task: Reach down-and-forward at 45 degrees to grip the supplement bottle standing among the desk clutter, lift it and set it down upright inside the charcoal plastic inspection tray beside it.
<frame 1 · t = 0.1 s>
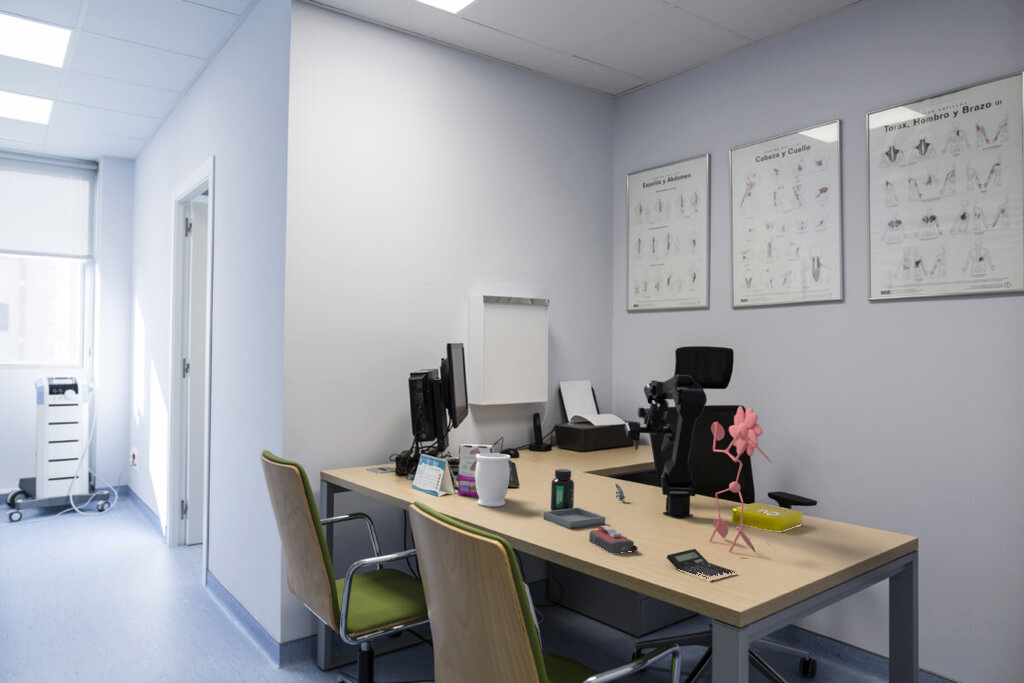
hand: (648, 449, 226), 15 cm above the table, tool tilted 35°, fingers open, 9 cm apart
supplement bottle: (561, 511, 196), on the table
walkie-talkie: (607, 544, 164), on the table
jar: (491, 504, 201), on the table
candy bar box: (475, 495, 213), on the table
element tile: (766, 525, 189), on the table
calculator: (700, 572, 144), on the table
sculpture: (619, 503, 211), on the table
tray: (573, 521, 183), on the table
figurine: (743, 546, 165), on the table
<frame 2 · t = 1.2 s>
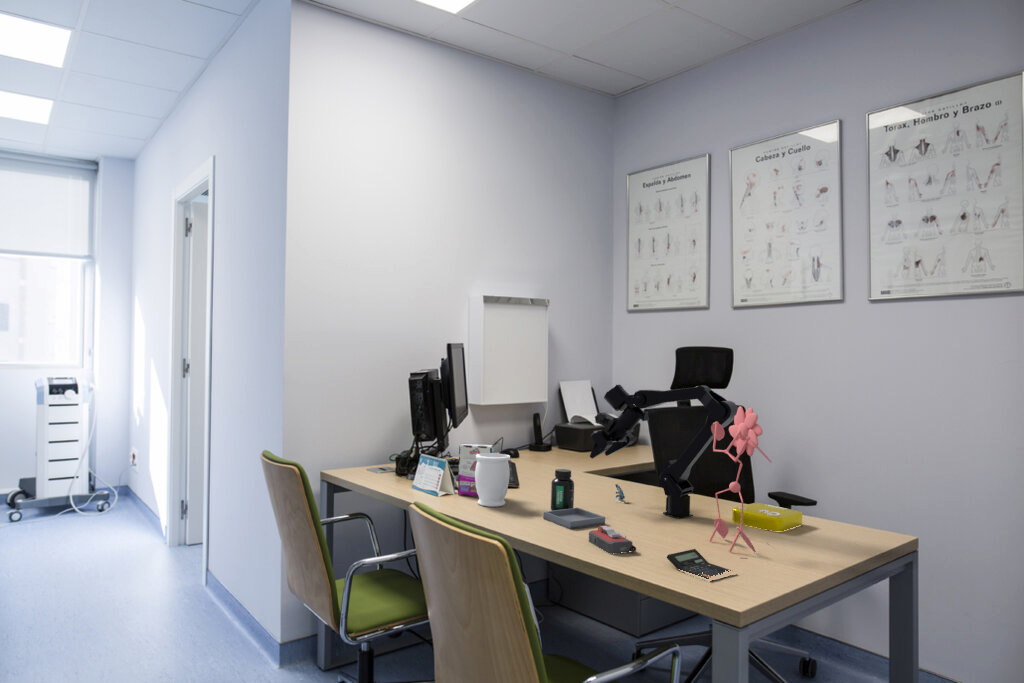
hand: (598, 456, 212), 14 cm above the table, tool tilted 40°, fingers open, 9 cm apart
nothing on the table moved.
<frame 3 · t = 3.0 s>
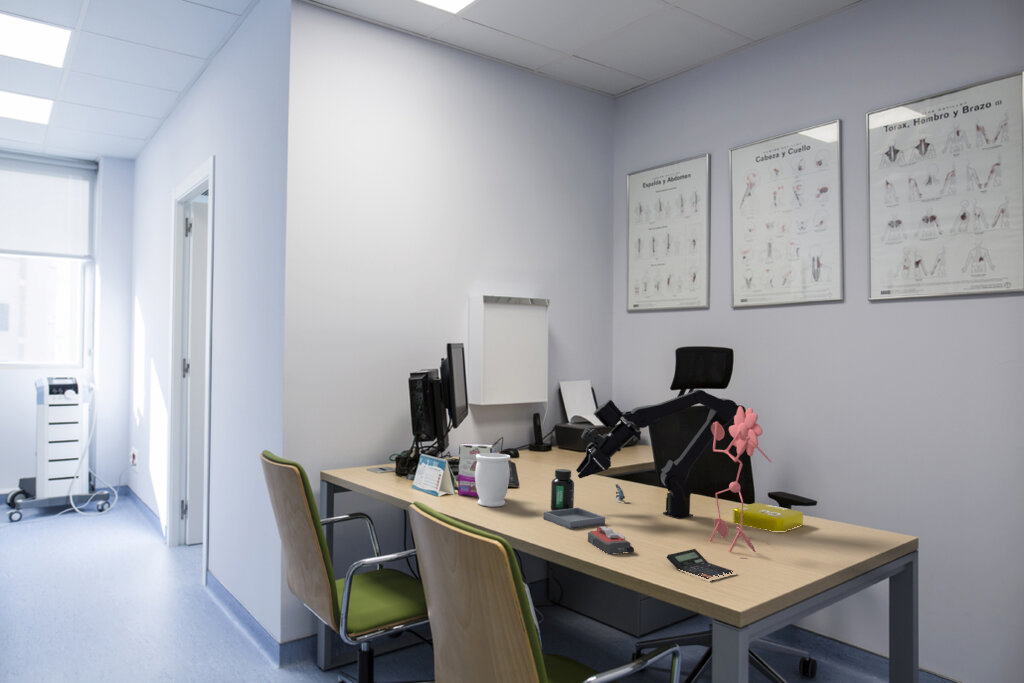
hand: (577, 474, 196), 11 cm above the table, tool tilted 45°, fingers open, 9 cm apart
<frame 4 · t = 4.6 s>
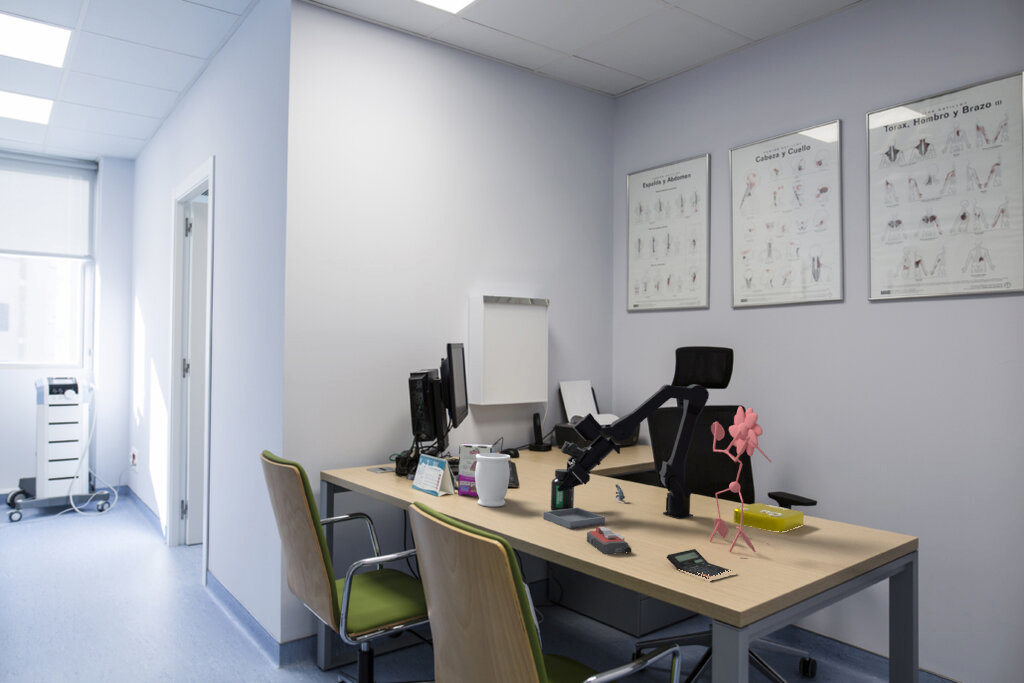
hand: (558, 488, 196), 7 cm above the table, tool tilted 45°, fingers closed on supplement bottle, 7 cm apart
supplement bottle: (561, 511, 196), on the table, touching gripper
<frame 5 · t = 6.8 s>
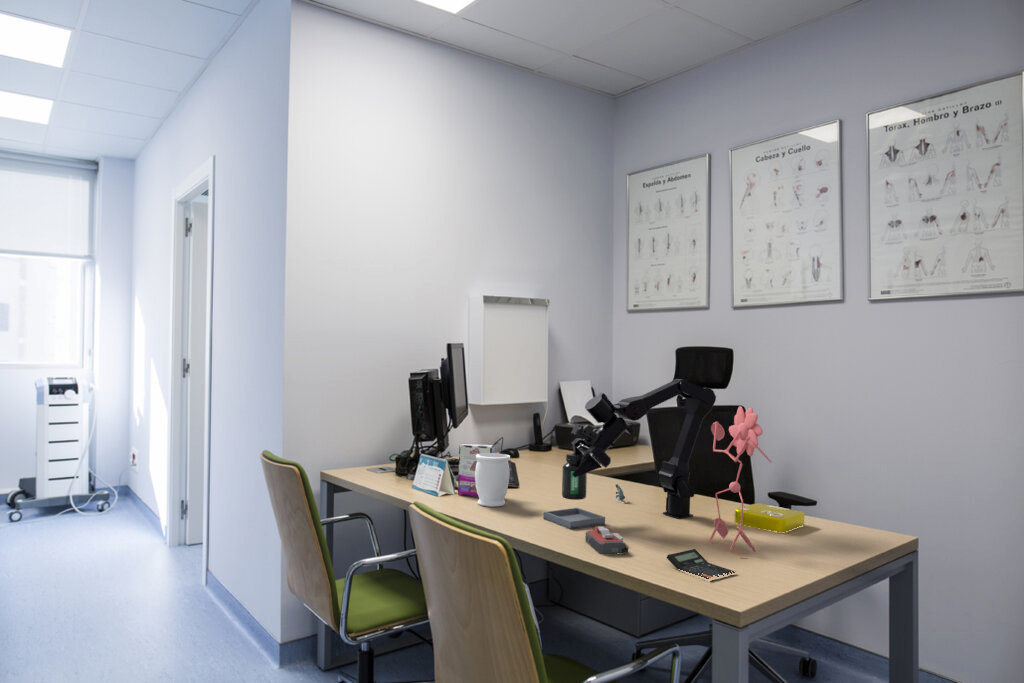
hand: (569, 473, 184), 13 cm above the table, tool tilted 45°, fingers closed on supplement bottle, 7 cm apart
supplement bottle: (574, 498, 184), point 6 cm above the table, touching gripper
when the fingers open (8 cm above the table, at t = 8.3 s): supplement bottle stays where it is, resting on tray.
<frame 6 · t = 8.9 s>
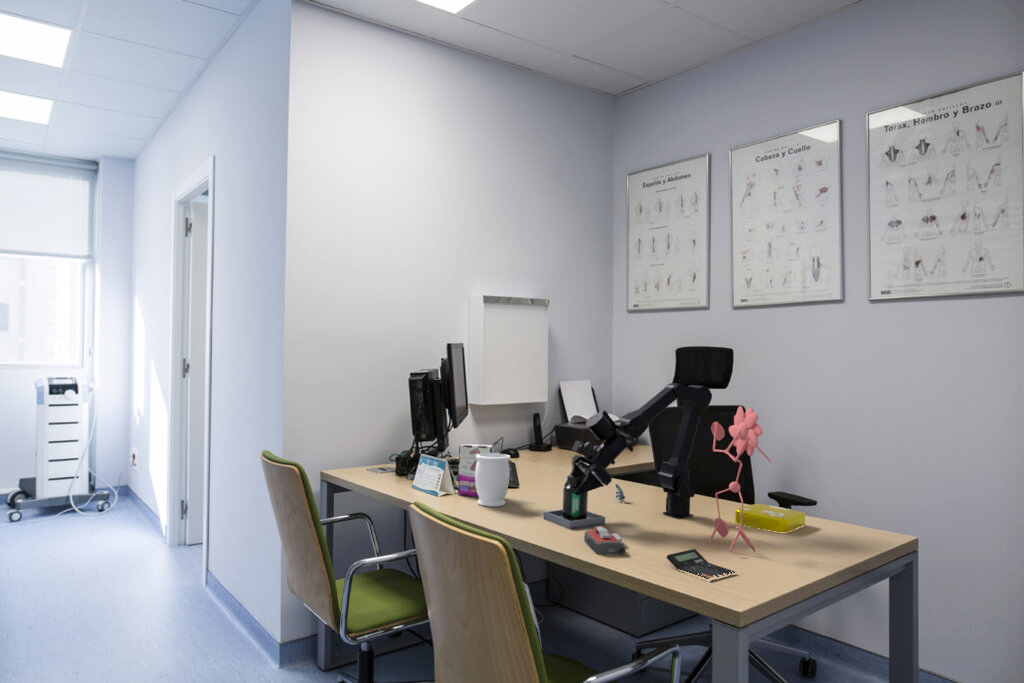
hand: (570, 490, 183), 9 cm above the table, tool tilted 45°, fingers open, 9 cm apart
supplement bottle: (574, 520, 183), resting on tray
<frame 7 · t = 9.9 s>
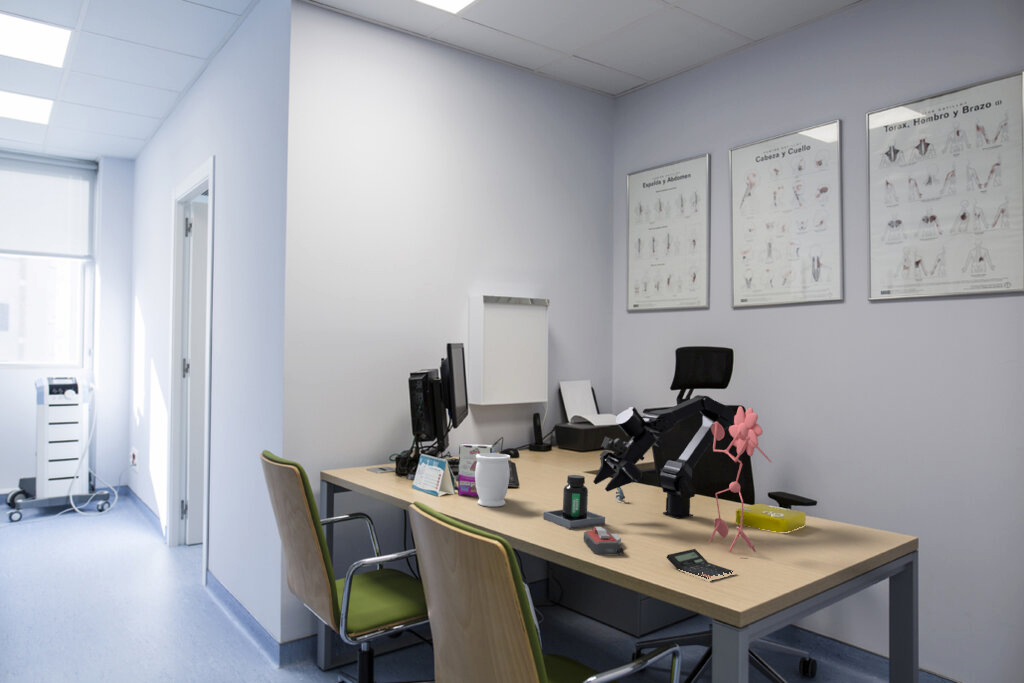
hand: (600, 486, 186), 10 cm above the table, tool tilted 45°, fingers open, 9 cm apart
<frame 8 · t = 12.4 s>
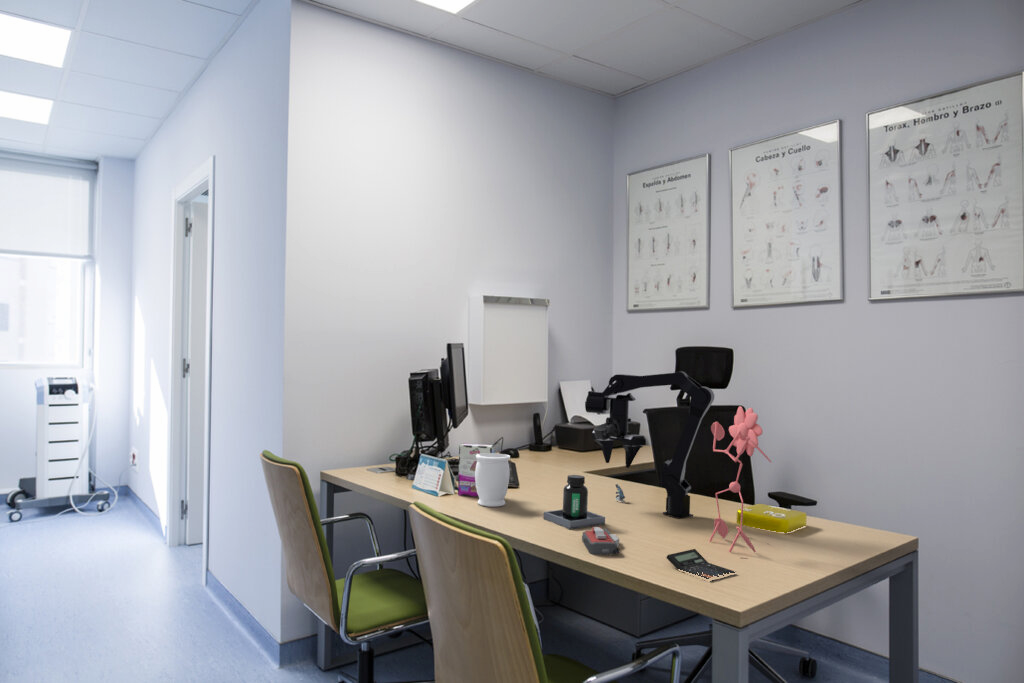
hand: (617, 465, 203), 13 cm above the table, tool pointing down, fingers open, 9 cm apart
at the end: supplement bottle inside the target area on the tray (0.2 cm from its centre), point 0.4 cm above the tray's base; supplement bottle tilted 0°; the gripper is holding nothing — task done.
